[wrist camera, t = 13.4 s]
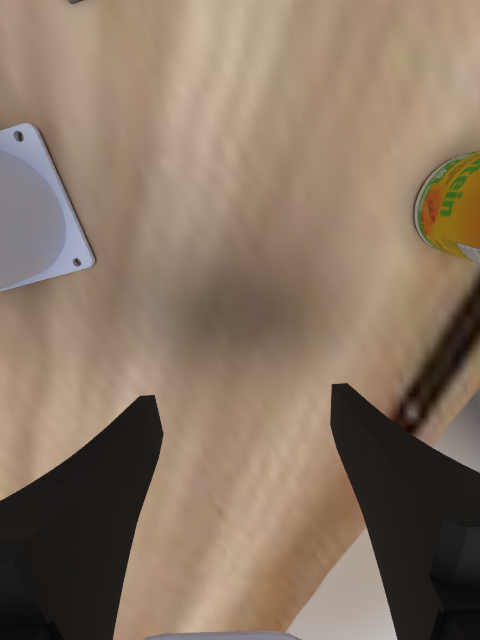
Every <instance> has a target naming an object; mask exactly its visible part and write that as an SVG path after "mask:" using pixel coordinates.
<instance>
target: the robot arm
mask: <svg viewBox="0 0 480 640" xmlns="http://www.w3.org/2000/svg"><path fill="white" fill-rule="evenodd" d="M20 132H21V133H22V134H23V137H24V139H23V141H22V142H21V141H20V140H19V137H18V135H19V133H20ZM76 258H78V259H79V260H80V261H81V265H79V264H77V263H76ZM94 263H95V258H94V256H93V253H92V251H91V249H90V246H89V244H88V242H87V240H86V237H85V235H84V233H83V230H82V228H81V226H80V224H79V221H78V219H77V217H76V215H75V212H74V210H73V208H72V205H71V203H70V201H69V199H68V196H67V194H66V192H65V189H64V187H63V185H62V183H61V180H60V178H59V176H58V174H57V171H56V169H55V167H54V164H53V162H52V160H51V158H50V155H49V153H48V151H47V148H46V146H45V144H44V142H43V139H42V137H41V135H40V132H39V131H38V129H37V128H36V127H35V126H34V125H31V124H28V123H22V124H19V125H16V126H13V127H10V128H7V129H4V130H1V131H0V291H4V290H7V289H11V288H15V287H19V286H22V285H26V284H30V283H34V282H37V281H41V280H45V279H49V278H52V277H56V276H60V275H64V274H68V273H71V272H75V271H79V270H83V269H86V268H89V267H91V266H93V265H94ZM330 425H331V429H332V433H333V437H334V441H335V444H336V448H337V450H338V453H339V456H340V458H341V461H342V463H343V465H344V468H345V470H346V473H347V475H348V478H349V480H350V483H351V485H352V488H353V490H354V492H355V495H356V497H357V500H358V502H359V505H360V508H361V511H362V513H363V517H364V520H365V523H366V526H367V530H368V533H369V536H370V540H371V543H372V547H373V550H374V554H375V557H376V560H377V564H378V568H379V571H380V575H381V578H382V582H383V586H384V589H385V593H386V597H387V601H388V604H389V608H390V612H391V616H392V620H393V624H394V628H395V632H396V636H397V639H398V640H480V473H479V472H477V471H475V470H473V469H471V468H469V467H467V466H465V465H462V464H461V463H458V462H457V461H455V460H453V459H451V458H449V457H448V456H446V455H444V454H442V453H440V452H439V451H437V450H435V449H433V448H432V447H430V446H428V445H427V444H425V443H424V442H422V441H420V440H419V439H417V438H416V437H414V436H413V435H411V434H410V433H408V432H407V431H405V430H404V429H403V428H401V427H400V426H398V425H397V424H396V423H394V422H393V421H392V420H390V419H389V418H388V417H386V416H385V415H384V414H383V413H381V412H380V411H379V410H378V409H376V408H375V407H374V406H373V405H372V404H371V403H369V402H368V401H367V400H366V399H365V398H364V397H362V396H361V395H360V394H359V393H358V392H357V391H356V390H355V389H353V388H352V387H351V386H350V385H349V384H348V383H343V384H332V394H331V420H330ZM162 439H163V430H162V425H161V421H160V416H159V412H158V408H157V403H156V399H155V395H147V396H140V397H138V398H137V399H136V400H135V401H134V402H133V403H132V404H131V405H130V406H129V407H128V408H126V409H125V410H124V411H123V412H122V413H121V414H120V415H119V416H118V417H117V418H116V419H115V420H114V421H113V422H112V423H110V424H109V425H108V426H107V427H106V428H105V429H104V430H103V431H102V432H100V433H99V434H98V435H97V436H96V437H94V438H93V439H92V440H91V441H90V442H89V443H87V444H86V445H85V446H84V447H83V448H81V449H80V450H79V451H78V452H76V453H75V454H74V455H72V456H71V457H70V458H68V459H67V460H65V461H64V462H63V463H61V464H60V465H58V466H57V467H56V468H54V469H53V470H51V471H49V472H48V473H46V474H45V475H43V476H42V477H40V478H39V479H37V480H35V481H34V482H32V483H31V484H29V485H27V486H26V487H24V488H22V489H21V490H19V491H17V492H15V493H14V494H12V495H10V496H8V497H7V498H5V499H3V500H1V501H0V640H113V635H114V629H115V623H116V618H117V613H118V608H119V603H120V597H121V592H122V587H123V582H124V578H125V573H126V568H127V564H128V559H129V555H130V550H131V546H132V542H133V538H134V533H135V529H136V525H137V522H138V518H139V515H140V512H141V509H142V506H143V503H144V500H145V497H146V494H147V491H148V488H149V485H150V482H151V480H152V477H153V474H154V471H155V468H156V465H157V462H158V458H159V454H160V450H161V445H162ZM144 640H301V639H299V638H297V637H295V636H293V635H291V634H289V633H283V632H275V631H236V632H201V633H166V634H161V635H155V636H150V637H146V638H145V639H144Z"/></svg>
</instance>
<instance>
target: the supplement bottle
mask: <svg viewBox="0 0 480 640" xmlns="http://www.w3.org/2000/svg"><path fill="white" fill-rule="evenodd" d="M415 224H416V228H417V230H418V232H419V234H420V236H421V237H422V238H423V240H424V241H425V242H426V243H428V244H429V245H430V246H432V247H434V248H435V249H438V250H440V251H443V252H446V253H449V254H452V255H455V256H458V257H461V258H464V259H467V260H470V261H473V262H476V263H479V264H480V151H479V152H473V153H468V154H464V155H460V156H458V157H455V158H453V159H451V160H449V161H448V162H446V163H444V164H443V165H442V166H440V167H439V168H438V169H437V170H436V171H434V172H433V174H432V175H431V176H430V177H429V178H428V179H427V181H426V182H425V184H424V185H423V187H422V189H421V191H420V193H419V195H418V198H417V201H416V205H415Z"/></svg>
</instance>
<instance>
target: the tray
mask: <svg viewBox="0 0 480 640" xmlns="http://www.w3.org/2000/svg"><path fill="white" fill-rule="evenodd" d="M68 1H69V2H70V3H71V4H73V3H76V2H78V1H81V0H68Z"/></svg>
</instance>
